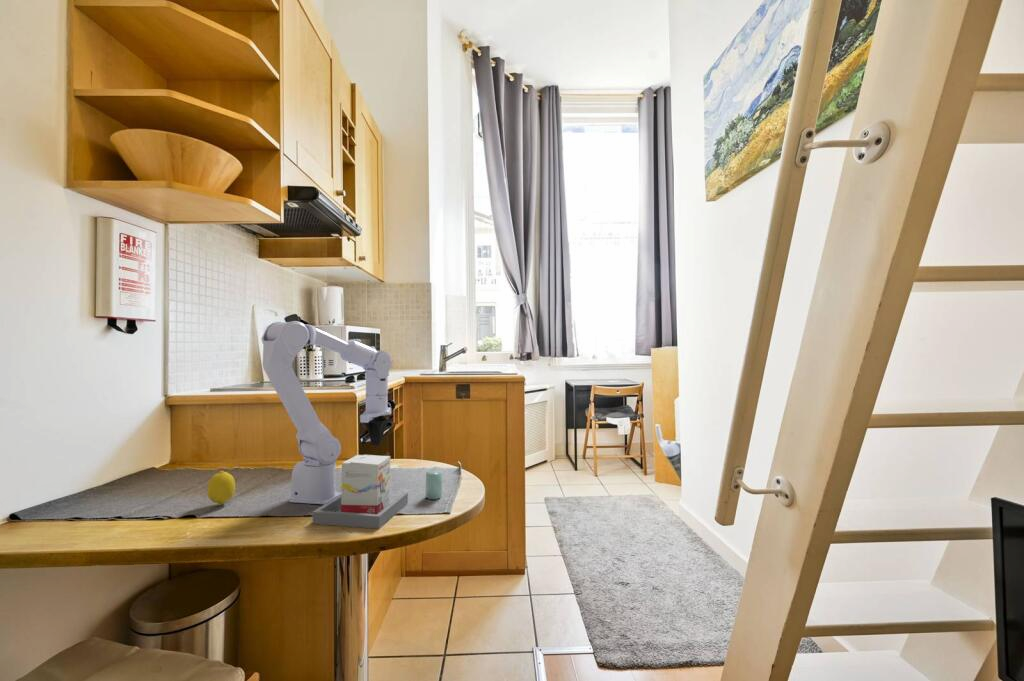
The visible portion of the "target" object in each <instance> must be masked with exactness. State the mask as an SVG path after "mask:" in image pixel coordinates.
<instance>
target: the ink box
mask: <svg viewBox="0 0 1024 681" xmlns="http://www.w3.org/2000/svg"><path fill="white" fill-rule="evenodd" d="M340 492H341V508H340V512H349V513H364V514H378V513H379V512H381V511H382V510H383V509H384V508H386V507H387V506H388V505H389V504H391V502H390V498H391V497H390V496H391V493H390V492H391V455H376V454H375V455H374V454H356V455H354V456H352V457H351V458H349V459H347V460H345V461H343V462H342V463H341V490H340Z"/></svg>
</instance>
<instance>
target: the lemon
mask: <svg viewBox="0 0 1024 681" xmlns="http://www.w3.org/2000/svg"><path fill="white" fill-rule="evenodd" d="M206 491H207V496H208V499H209V500H210V501H211V502H213V503H215V504H218V505H219V504H223V505H225V503H226V502H228V501H230V499H231V498H232V497H233V496H234V495H235V491H236V481H235V478H234V476H233V475H232V474H230V472H227V471H224V470H220V471H219V472H217V473H215V474H214V475H212V476H211V477H210V479H209V481H208V484H207V489H206Z"/></svg>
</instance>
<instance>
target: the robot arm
mask: <svg viewBox="0 0 1024 681" xmlns="http://www.w3.org/2000/svg"><path fill="white" fill-rule="evenodd" d="M260 340H261V343H262V346H263V347H262V349H263V350H262V368H263V371H264V372H265V375H267V376H266V377H267V379H268V380H269V381H270V383H271V385H272V386H273V388H274V390H275V392H276V394H277V396H278V398H279V400H280V401H281V403H282V405H283V406H284V408H285V410H286V412H287V414H288V416H289V419H290V420H291V421H292V423H293V425H294V426H295V429H296V430H297V433H296V434H295V438H296V439H297V442H298V452H299V453H300V455H301V456H302V457H303V461H299V462H297V463H296V464H295V465H294V466H293V469H292V472H291V499H289V503H297V504H312V505H313V504H314V505H325V504H326V503H328V502H329V501H331V500H333V499H334V498H336V497H338V496H339V495H341V491H336V464H337V459H338V458H339V456H340V455H341V451H342V444H341V442H340V440H339V439H338V438H337V437H335V436H333V434H332V433H331V431H330V430H329V429H328V428H327V427H326V426H325V425H324V424H323V423H322V422H321V421H320V419H319V417H318V414H317V413H316V411H315V410H314V407H313V405H312V403H311V402H310V400H309V397H308V396H307V394H306V392H305V390H304V388H303V386H302V385H301V382H300V380H299V378H298V376H297V375H296V373H295V371H294V369H293V367H292V364H293V362H294V360H295V358H296V356H297V355H298V354H299V353H300V352H301V351H302V350H303V349H304V347H306V345H314V346H317V347H321V348H323V349H327V350H329V351H333V352H335V353H338V354H339V355H340V359H341V360H342V361H346V362H348V363H351V364H353V365H356V366H358V367H361V368H362V369H363V370H364V371H365V411H364V412H363V413H362V414H360V415H359V416H360V419H359V422H360V423H363V424H364V426H365V428H366V430H367V432H368V434H369V439H370V442H371V446H376V447H377V446H379V447H380V446H381V445H382V444H383V443H382V442H383V438H384V435H385V434H384V433H385V430H386V428H387V426H388V423H389V421H390V417H385V416H390V415H392V407H389V406H388V392H389V391H388V390H389V389H388V386H389V384H388V380H389V378H388V377H389V376H390V374H389V372H390V370H391V369H392V366H393V363H394V362H393V360H392V359H391V357H390V355H389V353H388V352H387V351H384V350H377V349H376V347H375V346H373V345H372V346H371V345H370V346H369V345H366V344H364V343H362V340H361V339H360V338H359V339H358V338H353V339H349V340H346V341H345V340H343V339H341V338H338V337H337V336H334V335H332V334H330V333H328V332H326V331H323V330H321V329H320V328H317V327H315V326H313V325H311V324H307V323H305V324H304V323H303V322H301V321H298V320H293V321H288V322H287V321H286V322H283V321H275V322H273V323H271V324H269V325H268V326H267V327H266V328H265V331H264V332H263V335H262V336H261V339H260Z"/></svg>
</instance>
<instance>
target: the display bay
mask: <svg viewBox="0 0 1024 681" xmlns="http://www.w3.org/2000/svg"><path fill="white" fill-rule="evenodd" d="M408 494H409V493H407V492H403V493H402V494H401V495H399V496H398V497H397V498H395V499H394V500H393V501H392V502H390V504H389V505H388V506H387V507H386V508H384V509H383V510H382V511H381V512H379V513H378V514H364V513H349V512H341V511H339V510H341V495H339V496H338V497H336V498H334V499H333V500H331V501H329V502H328V503H326V504H322V505H321V506H320V507H318V508H316V509H314V510H313V511H312V515H311V516H312V518H311V519H312V520H311V521H312V522H311V523H312V524H313V525H324V526H325V525H326V526H338V527H339V526H340V527H352V528H367V529H377V530H379V529H381V528H382V527H383V526H384V525H385V524H387V522H389V521H390V520H391V519H392V518H393V517H394V516H396V515H397V514H398V513H399V512H400V511H401V510H402V509H403V508H405V505H406V504H407V503H408V504H409V502H408V498H409V497H408V496H409V495H408ZM408 504H407V505H408ZM407 505H406V506H407ZM402 507H403V508H402ZM401 508H402V509H401ZM338 509H339V510H338ZM400 509H401V510H400ZM399 510H400V511H399ZM335 511H336V512H335ZM398 511H399V512H398ZM397 512H398V513H397ZM396 513H397V514H396Z"/></svg>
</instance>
